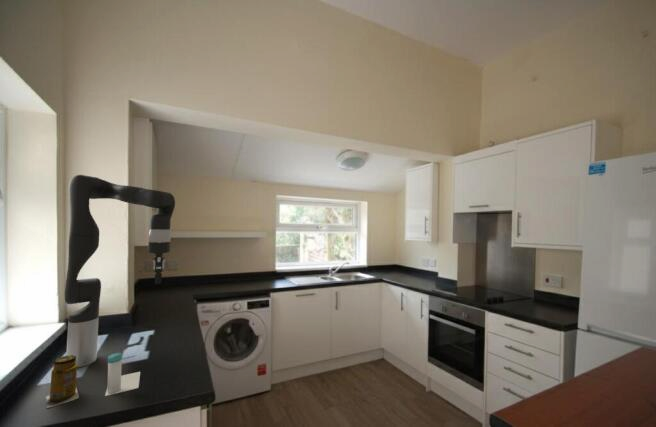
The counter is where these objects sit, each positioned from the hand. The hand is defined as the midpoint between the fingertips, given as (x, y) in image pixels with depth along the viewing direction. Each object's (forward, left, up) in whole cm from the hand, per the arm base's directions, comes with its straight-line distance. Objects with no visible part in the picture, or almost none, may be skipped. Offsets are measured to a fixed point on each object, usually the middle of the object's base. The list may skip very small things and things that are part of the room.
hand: (158, 281), depth 110 cm
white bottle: (+12, -11, -33) cm, 37 cm away
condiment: (+8, -25, -33) cm, 42 cm away
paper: (+8, -9, -33) cm, 35 cm away
